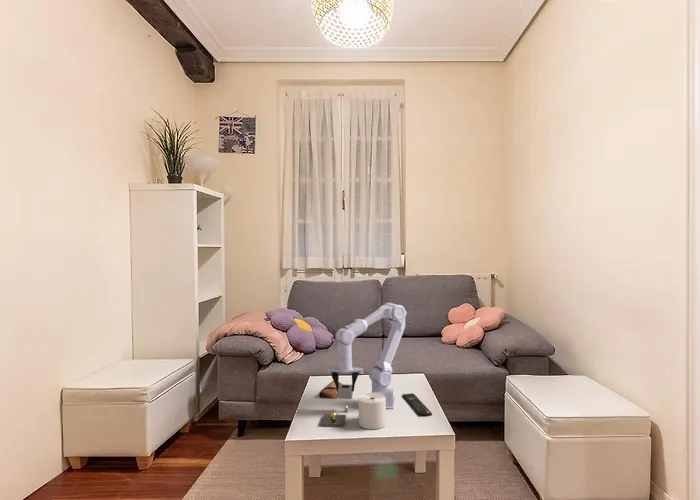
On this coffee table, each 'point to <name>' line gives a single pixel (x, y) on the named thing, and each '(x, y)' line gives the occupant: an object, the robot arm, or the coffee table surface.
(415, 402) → the remote control
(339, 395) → the grey stepped block
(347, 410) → the stand rod
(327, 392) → the sunglasses case
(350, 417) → the coffee table surface
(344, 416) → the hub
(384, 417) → the toilet tissue
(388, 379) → the robot arm
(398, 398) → the coffee table surface
